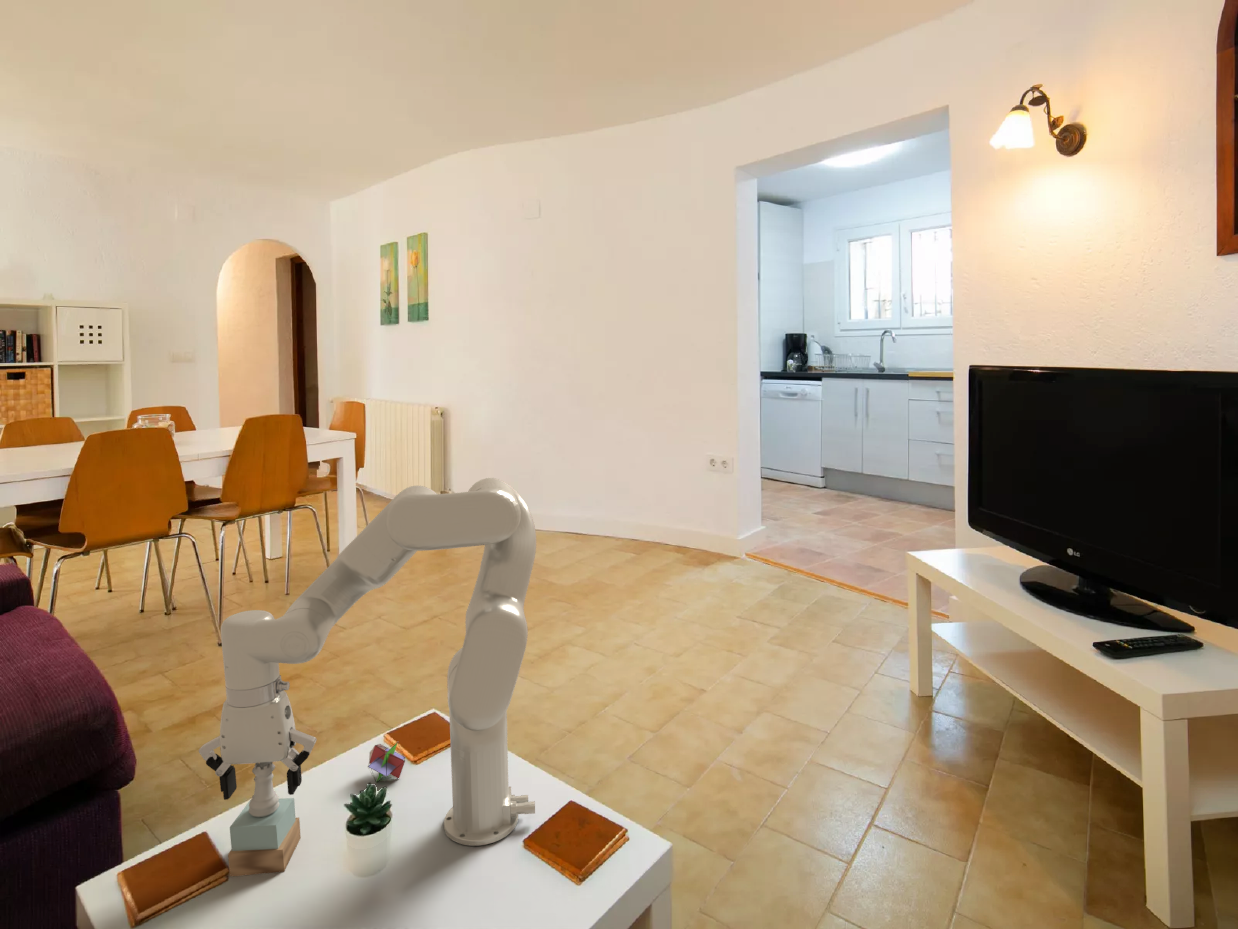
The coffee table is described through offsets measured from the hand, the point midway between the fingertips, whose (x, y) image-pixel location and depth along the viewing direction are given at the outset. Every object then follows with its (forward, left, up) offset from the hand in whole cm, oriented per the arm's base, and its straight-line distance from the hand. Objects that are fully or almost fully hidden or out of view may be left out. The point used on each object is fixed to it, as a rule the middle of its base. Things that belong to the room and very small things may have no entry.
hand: (262, 792), depth 111 cm
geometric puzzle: (-15, -20, -11) cm, 27 cm away
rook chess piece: (0, 0, -3) cm, 3 cm away
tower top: (0, 0, -7) cm, 7 cm away
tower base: (0, 0, -11) cm, 11 cm away
